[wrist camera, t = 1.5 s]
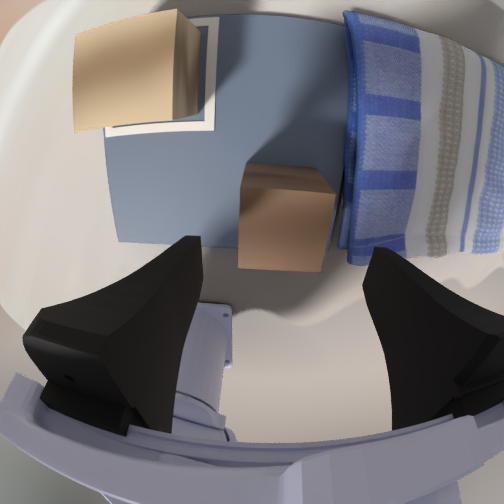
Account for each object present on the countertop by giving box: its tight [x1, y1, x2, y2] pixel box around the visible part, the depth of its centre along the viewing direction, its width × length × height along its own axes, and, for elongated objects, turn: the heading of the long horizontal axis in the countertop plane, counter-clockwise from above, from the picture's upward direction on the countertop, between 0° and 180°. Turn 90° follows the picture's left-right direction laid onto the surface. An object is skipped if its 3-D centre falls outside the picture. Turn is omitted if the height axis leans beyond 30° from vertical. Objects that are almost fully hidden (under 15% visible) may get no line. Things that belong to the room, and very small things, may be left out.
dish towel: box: [337, 11, 504, 266], centre depth 14 cm, size 17×24×3 cm
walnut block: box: [238, 163, 336, 272], centre depth 15 cm, size 4×4×5 cm
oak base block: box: [73, 9, 201, 133], centre depth 11 cm, size 6×6×5 cm
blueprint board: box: [103, 14, 348, 254], centre depth 16 cm, size 16×16×1 cm
